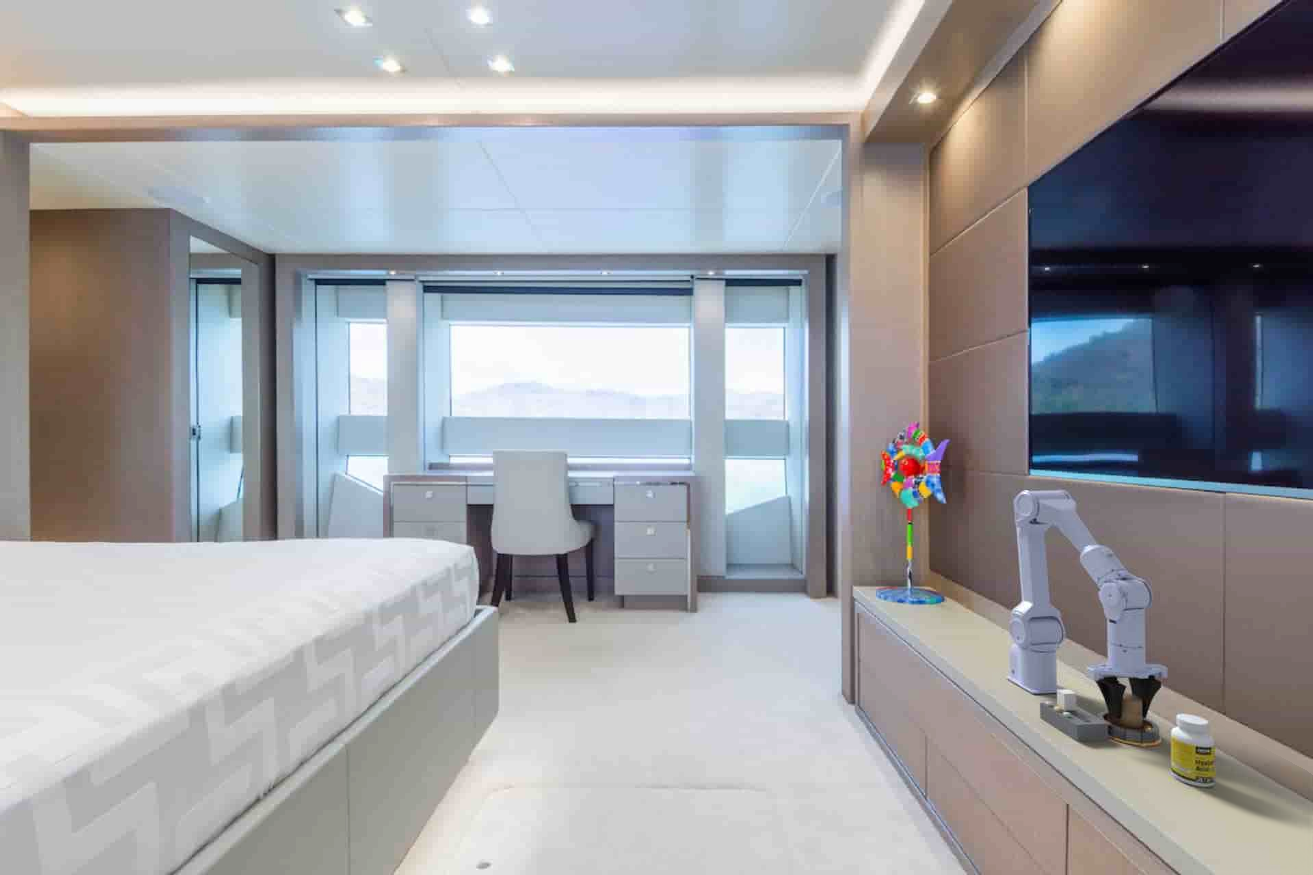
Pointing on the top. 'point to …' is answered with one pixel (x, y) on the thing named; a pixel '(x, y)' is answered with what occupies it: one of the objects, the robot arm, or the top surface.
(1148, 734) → the ring
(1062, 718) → the switch box
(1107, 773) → the top surface
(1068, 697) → the handle
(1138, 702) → the brown tapered cylinder
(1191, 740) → the supplement bottle
